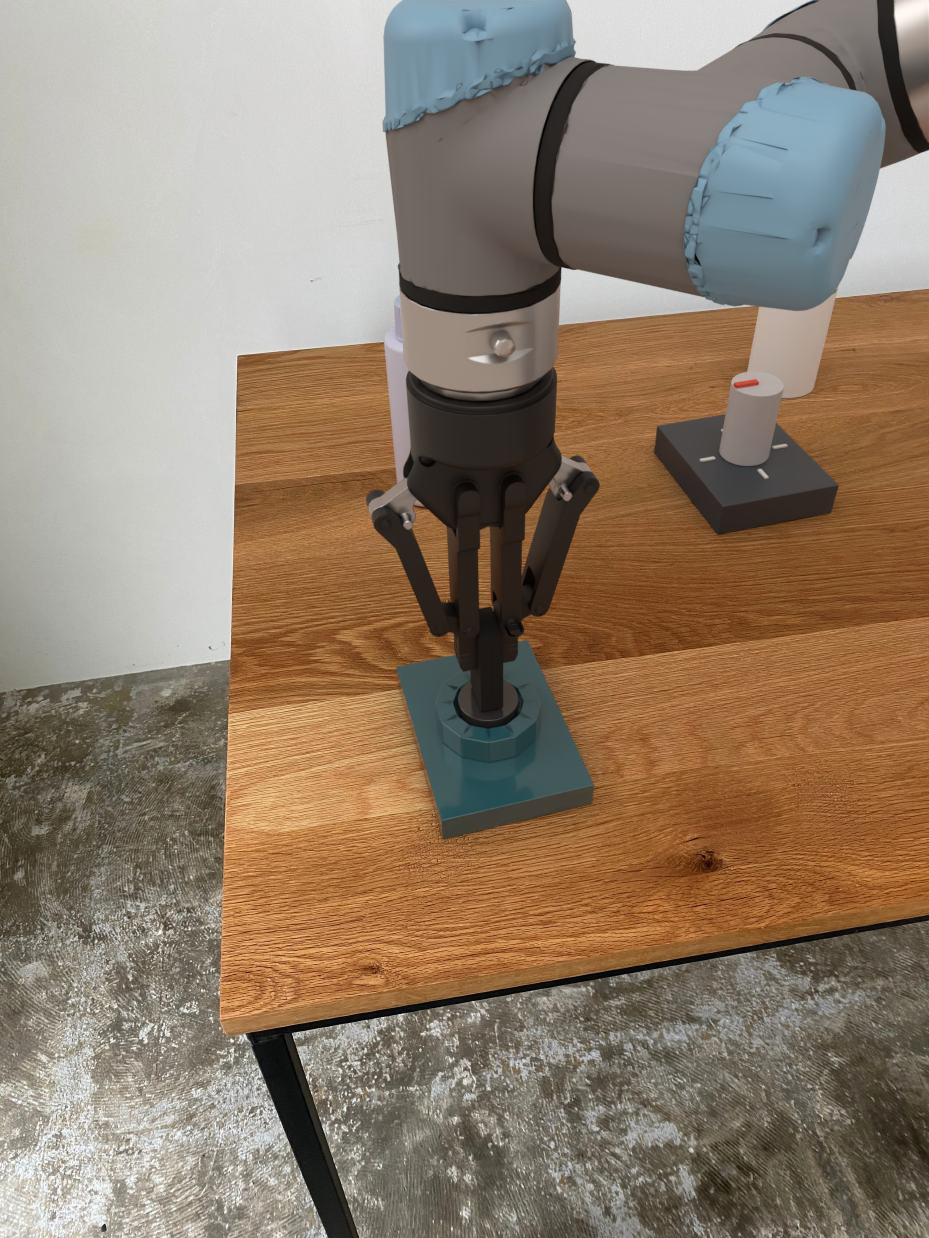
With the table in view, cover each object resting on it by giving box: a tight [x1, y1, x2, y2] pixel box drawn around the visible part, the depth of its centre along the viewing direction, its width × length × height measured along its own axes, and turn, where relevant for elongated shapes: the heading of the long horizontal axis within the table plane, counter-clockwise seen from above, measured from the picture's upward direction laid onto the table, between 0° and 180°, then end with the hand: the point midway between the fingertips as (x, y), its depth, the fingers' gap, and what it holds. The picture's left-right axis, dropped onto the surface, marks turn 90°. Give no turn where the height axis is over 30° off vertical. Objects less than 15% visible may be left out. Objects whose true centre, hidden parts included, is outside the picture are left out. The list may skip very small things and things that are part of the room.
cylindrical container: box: [746, 284, 840, 399], centre depth 93 cm, size 7×7×25 cm
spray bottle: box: [383, 294, 426, 508], centre depth 80 cm, size 6×6×22 cm
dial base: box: [653, 413, 840, 535], centre depth 86 cm, size 14×11×3 cm
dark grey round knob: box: [458, 680, 518, 729], centre depth 63 cm, size 4×4×2 cm
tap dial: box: [719, 371, 784, 466], centre depth 83 cm, size 4×4×7 cm
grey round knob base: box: [395, 639, 595, 840], centre depth 63 cm, size 14×10×4 cm
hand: (486, 694), depth 62 cm, fingers closed
